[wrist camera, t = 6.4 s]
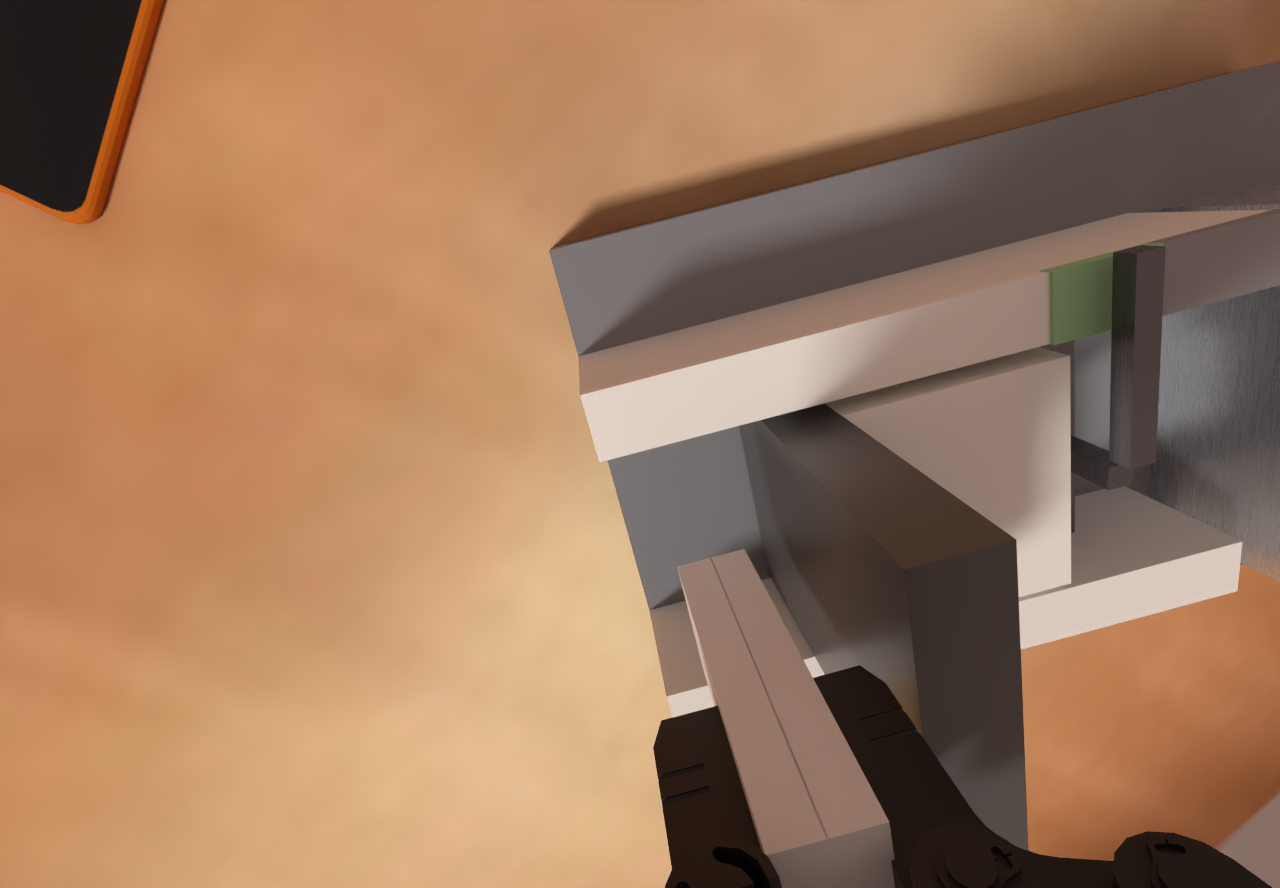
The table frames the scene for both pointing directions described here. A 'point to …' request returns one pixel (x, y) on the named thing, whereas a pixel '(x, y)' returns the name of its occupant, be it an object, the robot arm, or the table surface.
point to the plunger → (928, 548)
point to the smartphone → (68, 97)
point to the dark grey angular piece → (1126, 373)
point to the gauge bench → (917, 329)
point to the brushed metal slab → (1224, 406)
